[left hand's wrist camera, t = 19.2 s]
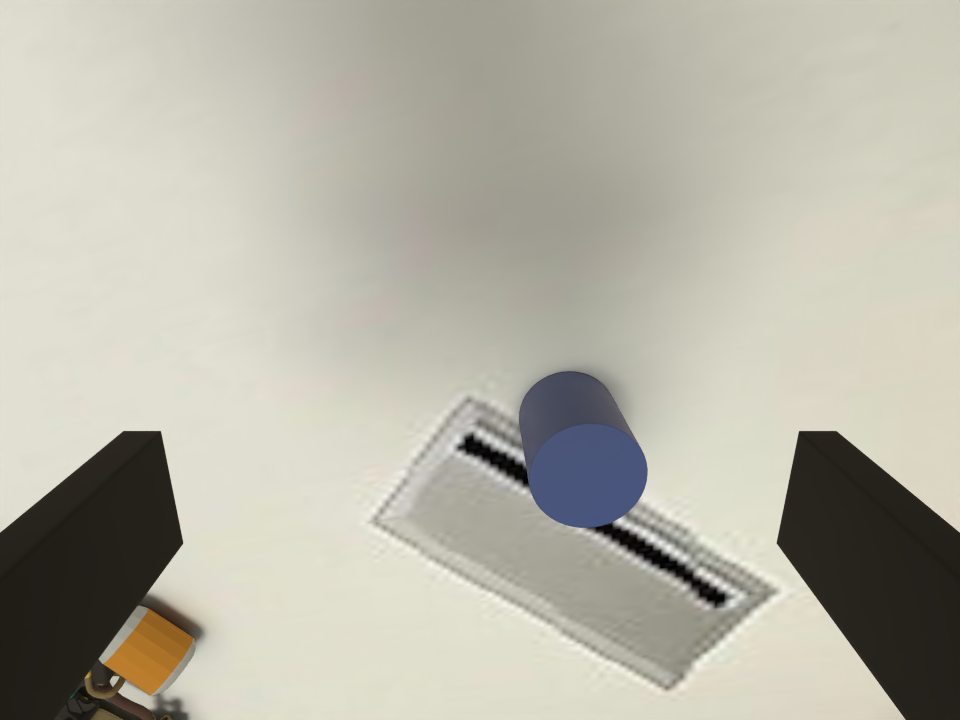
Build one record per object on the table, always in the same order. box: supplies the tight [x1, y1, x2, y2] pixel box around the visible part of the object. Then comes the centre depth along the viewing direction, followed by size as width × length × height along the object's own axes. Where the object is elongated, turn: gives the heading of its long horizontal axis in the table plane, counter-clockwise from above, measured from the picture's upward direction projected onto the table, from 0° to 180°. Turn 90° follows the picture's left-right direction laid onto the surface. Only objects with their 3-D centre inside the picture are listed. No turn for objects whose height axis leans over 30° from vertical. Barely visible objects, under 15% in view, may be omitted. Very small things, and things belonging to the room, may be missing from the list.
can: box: [519, 372, 647, 528], centre depth 36 cm, size 6×6×8 cm
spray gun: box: [54, 606, 195, 720], centre depth 44 cm, size 4×17×15 cm
